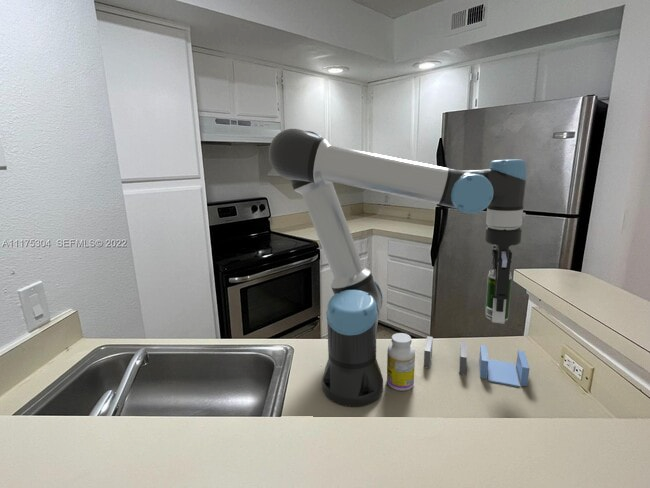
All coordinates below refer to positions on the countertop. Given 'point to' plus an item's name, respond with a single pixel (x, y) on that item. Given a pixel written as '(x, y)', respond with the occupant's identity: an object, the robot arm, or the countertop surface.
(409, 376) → the supplement bottle
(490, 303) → the beer can
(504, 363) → the blue bezel pad
